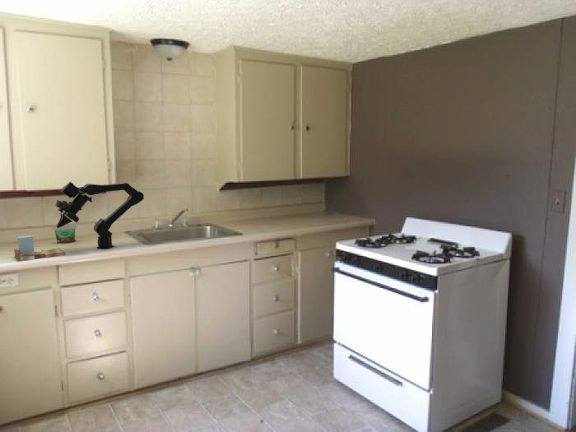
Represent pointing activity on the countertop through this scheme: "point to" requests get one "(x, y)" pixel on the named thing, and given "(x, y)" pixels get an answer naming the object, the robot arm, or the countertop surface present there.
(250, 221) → the countertop surface
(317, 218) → the countertop surface
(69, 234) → the food container
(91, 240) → the countertop surface
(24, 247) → the blue-grey block
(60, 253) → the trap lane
